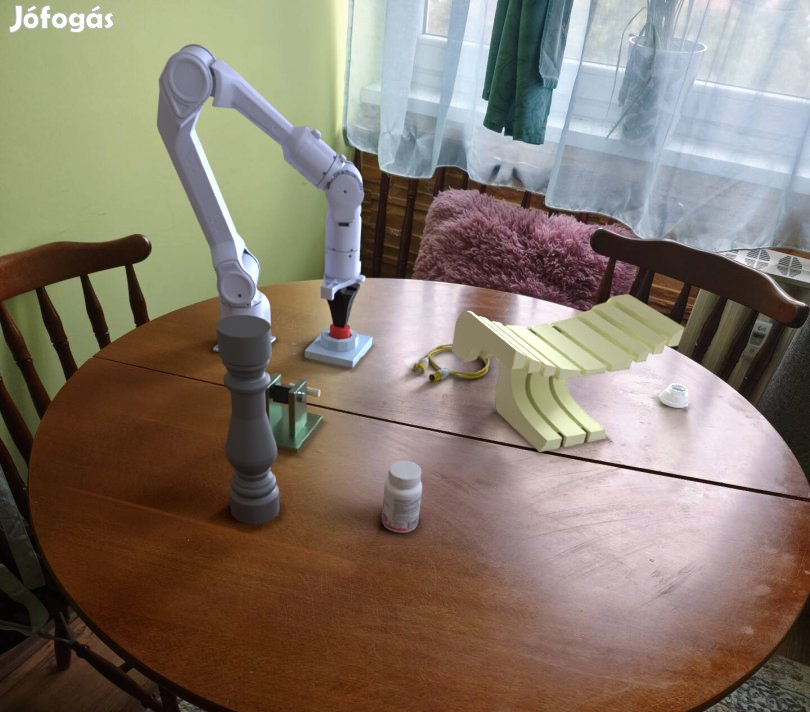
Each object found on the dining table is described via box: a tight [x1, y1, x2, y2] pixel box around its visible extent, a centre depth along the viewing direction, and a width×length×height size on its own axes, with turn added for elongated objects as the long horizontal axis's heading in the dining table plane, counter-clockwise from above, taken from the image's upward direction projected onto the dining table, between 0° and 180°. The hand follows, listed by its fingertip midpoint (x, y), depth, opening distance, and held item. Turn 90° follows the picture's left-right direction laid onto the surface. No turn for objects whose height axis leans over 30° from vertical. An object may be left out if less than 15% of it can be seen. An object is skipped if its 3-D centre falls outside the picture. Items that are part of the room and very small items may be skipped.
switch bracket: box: [265, 372, 324, 454], centre depth 101 cm, size 10×8×8 cm
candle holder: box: [215, 315, 281, 525], centre depth 81 cm, size 6×6×25 cm
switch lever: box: [273, 382, 321, 406], centre depth 103 cm, size 10×5×2 cm, turn 165°
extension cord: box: [413, 343, 490, 384], centre depth 125 cm, size 12×16×2 cm
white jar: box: [658, 383, 690, 409], centre depth 122 cm, size 5×3×5 cm
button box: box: [304, 326, 373, 369], centre depth 125 cm, size 11×9×4 cm
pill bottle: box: [381, 460, 423, 534], centre depth 87 cm, size 5×5×8 cm
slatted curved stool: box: [451, 294, 686, 453], centre depth 108 cm, size 30×16×18 cm, turn 115°
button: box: [329, 323, 351, 339], centre depth 123 cm, size 4×4×2 cm
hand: (340, 325), depth 123 cm, fingers closed
